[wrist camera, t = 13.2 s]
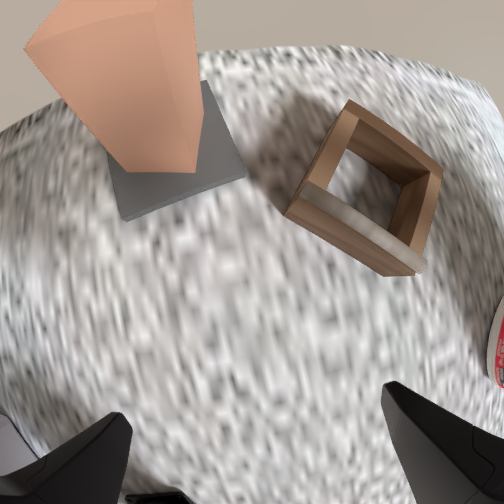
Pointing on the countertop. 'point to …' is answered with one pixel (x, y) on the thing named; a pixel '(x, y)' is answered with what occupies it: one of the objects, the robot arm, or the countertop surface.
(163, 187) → the pad
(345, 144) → the open wooden box
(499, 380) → the supplement tub
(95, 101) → the block
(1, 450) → the soap bottle
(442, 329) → the countertop surface
